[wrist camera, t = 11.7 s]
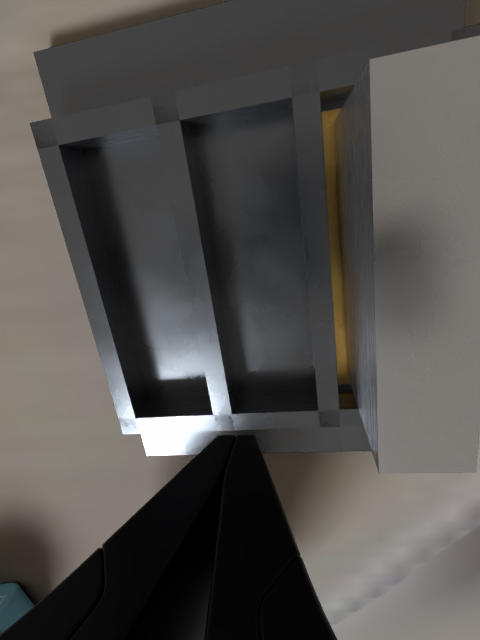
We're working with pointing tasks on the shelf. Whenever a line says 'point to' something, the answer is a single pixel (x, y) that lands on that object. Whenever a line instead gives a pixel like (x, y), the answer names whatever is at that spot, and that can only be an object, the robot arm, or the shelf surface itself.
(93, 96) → the rack
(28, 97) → the shelf surface
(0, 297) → the shelf surface
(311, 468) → the shelf surface
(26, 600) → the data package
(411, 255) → the panel
